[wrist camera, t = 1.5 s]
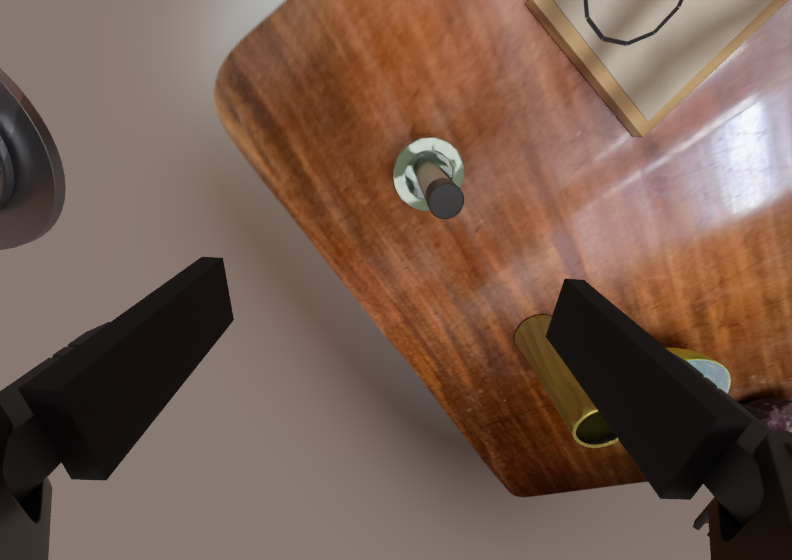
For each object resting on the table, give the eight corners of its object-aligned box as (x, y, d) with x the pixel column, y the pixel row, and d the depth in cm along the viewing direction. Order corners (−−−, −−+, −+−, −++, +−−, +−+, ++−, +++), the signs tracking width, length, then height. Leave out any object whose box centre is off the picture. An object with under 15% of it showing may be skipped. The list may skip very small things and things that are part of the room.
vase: (568, 315, 41) (650, 405, 28) (554, 354, 43) (622, 452, 30) (520, 312, 40) (580, 402, 27) (509, 351, 43) (559, 450, 30)
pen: (408, 169, 32) (420, 204, 19) (422, 152, 31) (445, 175, 18) (424, 183, 33) (447, 226, 20) (438, 166, 32) (471, 199, 19)
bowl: (658, 312, 41) (700, 342, 35) (704, 357, 44) (749, 391, 38) (583, 367, 44) (611, 402, 39) (631, 405, 48) (662, 442, 42)
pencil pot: (380, 172, 33) (379, 181, 28) (420, 120, 31) (425, 120, 26) (425, 209, 34) (431, 224, 29) (465, 163, 32) (478, 170, 27)
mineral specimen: (823, 386, 44) (900, 470, 38) (756, 411, 52) (810, 485, 45) (755, 387, 44) (820, 473, 37) (697, 413, 52) (743, 487, 45)
